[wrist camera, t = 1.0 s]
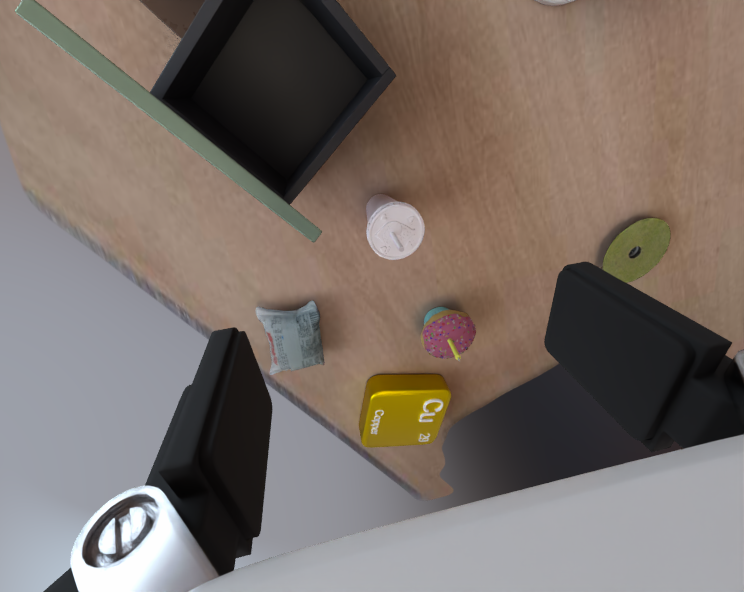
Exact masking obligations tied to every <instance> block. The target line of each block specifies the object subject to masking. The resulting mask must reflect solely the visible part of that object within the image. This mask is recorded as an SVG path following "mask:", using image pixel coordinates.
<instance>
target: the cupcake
mask: <svg viewBox="0 0 744 592" xmlns="http://www.w3.org/2000/svg"><path fill="white" fill-rule="evenodd" d="M475 334H476V328H475V325H474V324H473V322H472V320H471V318H470V317H469V315H468V314H467V313H463V312H460V311H455V310H449V309H447V308H445V307H436V308H434V309H432V310H430V311H429V312H428V313H427V314H426V316H425V319H424V328H423V330H422V333H421V341H422V345H423V347H424V348H425V349H426V350H427V351H428V352H429V354H430V355H433V356H435V357H437V358H438V357H439V358H447V359H448V358H452V357H454V356H455V358H456V359H457V360H459V361H460V358H461V357H460V355H459V354H461V353H463V352H464V351H465V350H467V349H468V347H469V346H470V345H471V344H472V341H473V339H474V336H475Z"/></svg>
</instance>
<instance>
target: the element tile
mask: <svg viewBox="0 0 744 592" xmlns="http://www.w3.org/2000/svg"><path fill="white" fill-rule="evenodd" d="M450 399H451V392H450V390H449V388H448V386H447V384H446V382H445V380H444V378H443V377H442V376H441V375H438V374H399V375H375V376H373V377H371V378H370V379H369V380H368V382H367V385H366V390H365V395H364V400H363V405H362V411H361V416H360V421H359V429H360V436H361V442H362V444H363V445H364V446H365V447H371V448H372V447H389V446H406V445H423V444H430V443H432V442H433V441H434V440H435V439H436V437H437V434H438V432H439V429H440V426H441V424H442V421H443V418H444V415H445V413H446V410H447V407H448V405H449V402H450Z"/></svg>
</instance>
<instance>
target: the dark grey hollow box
mask: <svg viewBox="0 0 744 592" xmlns="http://www.w3.org/2000/svg"><path fill="white" fill-rule="evenodd" d="M395 77H396V74H395V73H394V72H393V71H392V69H391V68H390V67H389V66H388V64H387V63H386V62H385V61H384V59H383V58H382V57H381V56H380V54H379V53H378V52H377V51H376V49H375V48H374V47H373V46H372V44H371V43H370V42H369V41H368V39H367V38H366V37H365V36H364V34H363V33H362V32H361V31H360V29H359V28H358V27H357V26H356V24H355V23H354V22H353V21H352V19H351V18H350V17H349V16H348V14H347V13H346V12H345V11H344V9H343V8H342V7H341V6H340V4H339V3H338V2H337V1H336V0H205V2H204V3H203V5H202V7H201V8H200V10H199V12H198V13H197V15H196V17H195V18H194V20H193V22H192V23H191V25H190V27H189V28H188V30H187V32H186V33H185V35H184V37H183V38H182V40H181V41H180V43H179V45H178V46H177V48H176V50H175V51H174V53H173V55H172V56H171V58H170V60H169V61H168V63H167V65H166V66H165V68H164V70H163V71H162V73H161V75H160V76H159V78H158V80H157V81H156V83H155V85H154V86H153V88H152V90H151V91H150V93H151V94H152V95H153V96H155V97H156V98H157V99H158V100H160V101H161V102H162V103H163V104H165V105H166V106H167V107H168V108H170V109H171V110H172V111H173V112H175V113H176V114H177V115H178V116H180V117H181V118H182V119H183V120H185V121H186V122H187V123H188V124H189V125H191V126H192V127H193V128H194V129H196V130H197V131H198V132H199V133H201V134H202V135H203V136H204V137H206V138H207V139H208V140H209V141H211V142H212V143H213V144H214V145H216V146H217V147H218V148H219V149H221V150H222V151H223V152H224V153H226V154H227V155H228V156H229V157H231V158H232V159H233V160H234V161H236V162H237V163H238V164H239V165H241V166H242V167H243V168H244V169H245V170H247V171H248V172H249V173H250V174H252V175H253V176H254V177H255V178H257V179H258V180H259V181H260V182H262V183H263V184H264V185H265V186H267V187H268V188H269V189H270V190H272V191H273V192H274V193H275V194H277V195H278V196H279V197H280V198H282V199H283V200H284V201H285V202H287V203H288V204H289V205H290V204H291V203H292V202H293V200H294V199H295V198H296V197H297V196H298V194H299V193H300V192H301V191H302V189H303V188H304V187H305V186H306V185H307V183H308V182H309V181H310V180H311V179H312V177H313V176H314V175H315V174H316V173H317V171H318V170H319V169H320V168H321V166H322V165H323V164H324V163H325V162H326V160H327V159H328V158H329V157H330V156H331V154H332V153H333V152H334V151H335V150H336V148H337V147H338V146H339V145H340V143H341V142H342V141H343V140H344V139H345V137H346V136H347V135H348V134H349V133H350V131H351V130H352V129H353V128H354V126H355V125H356V124H357V123H358V122H359V120H360V119H361V118H362V117H363V116H364V114H365V113H366V112H367V111H368V110H369V108H370V107H371V106H372V105H373V103H374V102H375V101H376V100H377V99H378V97H379V96H380V95H381V94H382V93H383V91H384V90H385V89H386V88H387V87H388V85H389V84H390V83H391V82H392V80H393V79H394V78H395Z"/></svg>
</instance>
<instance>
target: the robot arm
mask: <svg viewBox="0 0 744 592" xmlns="http://www.w3.org/2000/svg"><path fill="white" fill-rule="evenodd" d="M535 1H537V2H539V3H541V4H544V5H550V6H558V5H564V4H567V3H570V2H573V1H576V0H535ZM544 343H545V347H546V349H547V351H548V352H549V353H550V354H551V355H552V356H553V357H554V358H555V359H556V360H557V361H558V362H559V363H560V364H561V365H562V366H563V367H564V368H565V369H566V370H567V371H568V372H569V373H570V374H571V375H572V376H573V378H574V379H576V380H577V382H578V383H579V384H580V385H581V386H582V387H583V388H584V389H585V390H586V391H587V392H588V393H589V394H590V395H591V396H592V397H593V398H594V399H595V400H596V401H597V402H598V403H599V404H600V405H601V406H602V407H603V408H604V409H605V410H606V411H607V412H608V413H609V414H610V415H611V416H612V417H613V418H614V419H615V420H616V421H617V422H618V423H619V424H620V425H621V426H622V427H623V428H624V429H625V430H626V431H627V433H629V435H631V436H632V437H633V438H634V439H636V440H639V441H641V442H642V443H643V444H644V445H645V446H646V447H647V448H648V449H649V450H650V451H651V452H654V451H658V450H662V449H666V448H670V447H671V445H672V444H673V442H674V441H675V442H677V443H678V444H679V445H680V446H681V450H677V451H673V452H669V453H665V454H662V455H657V456H653V457H649V458H645V459H641V460H637V461H634V462H629V463H626V464H622V465H617V466H614V467H609V468H605V469H602V470H598V471H594V472H590V473H586V474H582V475H578V476H574V477H570V478H566V479H562V480H559V481H555V482H551V483H547V484H543V485H539V486H535V487H531V488H527V489H524V490H520V491H516V492H512V493H508V494H504V495H501V496H496V497H492V498H488V499H485V500H481V501H477V502H473V503H469V504H466V505H462V506H458V507H454V508H450V509H446V510H443V511H439V512H435V513H431V514H428V515H424V516H420V517H416V518H412V519H408V520H404V521H401V522H397V523H393V524H389V525H386V526H382V527H378V528H374V529H371V530H366V531H363V532H359V533H356V534H352V535H349V536H345V537H341V538H338V539H334V540H331V541H327V542H323V543H320V544H317V545H313V546H309V547H306V548H302V549H299V550H295V551H291V552H288V553H284V554H281V555H278V556H275V557H272V558H269V559H266V560H263V561H260V562H257V563H254V564H251V565H248V566H245V567H242V568H239V569H236V570H234V565H235V559H236V558H239V557H242V556H246V555H250V554H251V549H252V540H253V538H254V537H258V536H259V534H260V531H261V522H262V512H263V502H264V501H263V500H264V491H265V481H266V470H267V460H268V450H269V439H270V429H271V419H272V402H271V398H270V395H269V392H268V390H267V387H266V384H265V382H264V379H263V377H262V374H261V371H260V369H259V366H258V363H257V361H256V358H255V356H254V353H253V350H252V348H251V345H250V342H249V340H248V337H247V335H246V333H245V332H244V331H241V332H239V331H238V330H237V328H235V327H234V328H228V329H223V330H218V331H214V332H212V334H211V337H210V339H209V342H208V344H207V347H206V350H205V352H204V355H203V357H202V360H201V363H200V365H199V368H198V370H197V373H196V375H195V378H194V381H193V383H192V385H189V386H187V387H186V388H185V390H184V392H183V394H182V396H181V399H180V401H179V403H178V406H177V408H176V411H175V413H174V416H173V418H172V421H171V423H170V425H169V428H168V431H167V433H166V435H165V438H164V440H163V443H162V445H161V447H160V450H159V452H158V455H157V458H156V460H155V462H154V465H153V467H152V470H151V472H150V474H149V477H148V479H147V482H146V484H145V486H141V487H135V488H133V489H130V490H128V491H126V492H123V493H121V494H120V495H118V496H117V497H115V498H113V499H112V500H110V501H109V502H107V503H106V504H105V505H104V506H103V507H102V508H101V509H99V510H98V511H97V512H96V513H95V514H94V515H93V516H92V518H91V519H90V520H89V521H88V522H87V524H86V525H85V526H84V527H83V529H82V531H81V532H80V534H79V536H78V538H77V539H76V541H75V544H74V547H73V550H72V553H71V568H70V569H69V570H68V571H66V572H65V573H64V574H63V575H62V576H61V577H60V578H58V579H57V580H56V581H55V582H54V583H53V584H52V585H50V586H49V587H48V588H47V589H46V590H45V591H44V592H744V349H743V350H740V351H738V353H737V354H736V355H735V357H734V358H733V360H732V359H731V358H729V357H727V356H726V355H725V354H726V353H727V351H728V349H729V347H730V346H731V344H732V342H730V341H728V340H727V339H725V338H723V337H721V336H720V335H718V334H716V333H714V332H712V331H711V330H709V329H707V328H705V327H704V326H702V325H700V324H698V323H696V322H695V321H693V320H691V319H689V318H688V317H686V316H684V315H682V314H680V313H679V312H677V311H675V310H673V309H671V308H670V307H668V306H666V305H664V304H663V303H661V302H659V301H657V300H655V299H654V298H652V297H650V296H648V295H647V294H645V293H643V292H641V291H639V290H638V289H636V288H634V287H632V286H631V285H629V284H627V283H625V282H623V281H622V280H620V279H618V278H616V277H615V276H613V275H611V274H609V273H607V272H606V271H604V270H602V269H600V268H599V267H597V266H595V265H593V264H591V263H589V262H581V263H576V264H570V265H567V266H565V267H564V268H563V270H562V271H561V272H560V273H559V275H558V279H557V283H556V288H555V293H554V298H553V302H552V307H551V312H550V316H549V321H548V326H547V331H546V335H545V341H544ZM233 570H234V571H233Z"/></svg>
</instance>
